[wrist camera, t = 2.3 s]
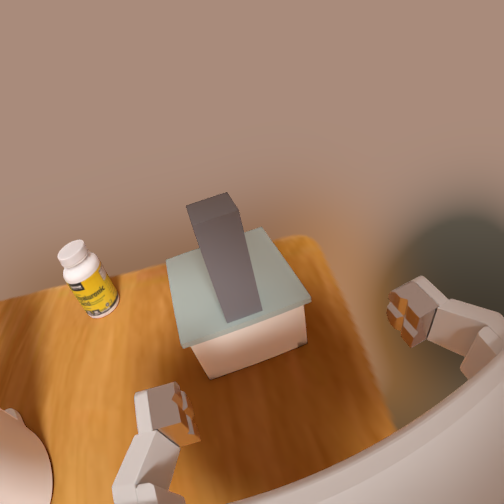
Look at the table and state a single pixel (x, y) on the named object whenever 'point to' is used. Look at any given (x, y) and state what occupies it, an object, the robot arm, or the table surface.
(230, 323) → the carton lid
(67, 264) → the supplement bottle
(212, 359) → the carton
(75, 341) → the table surface
